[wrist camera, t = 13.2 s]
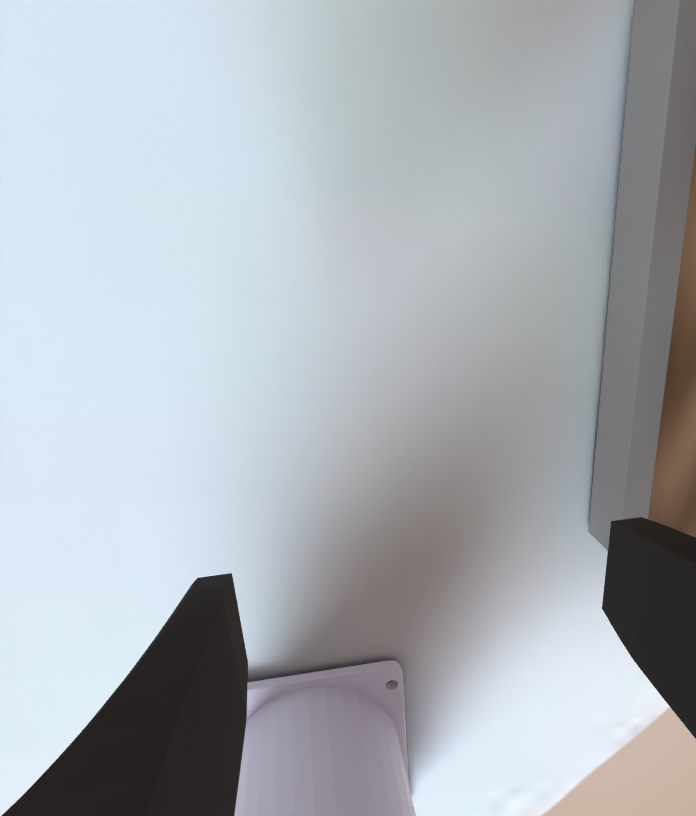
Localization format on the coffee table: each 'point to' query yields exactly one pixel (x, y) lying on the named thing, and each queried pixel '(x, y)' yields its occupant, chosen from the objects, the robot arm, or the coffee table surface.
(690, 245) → the brown wooden bar
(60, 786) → the robot arm
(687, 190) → the block
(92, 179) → the coffee table surface
